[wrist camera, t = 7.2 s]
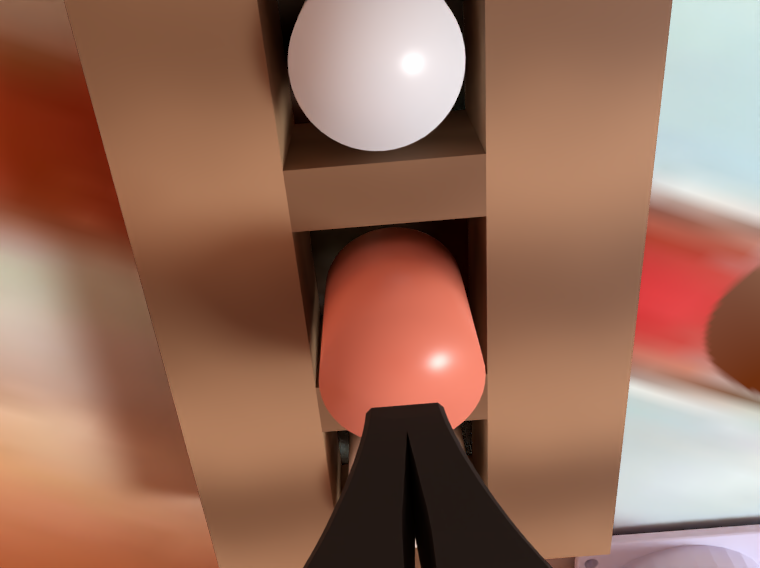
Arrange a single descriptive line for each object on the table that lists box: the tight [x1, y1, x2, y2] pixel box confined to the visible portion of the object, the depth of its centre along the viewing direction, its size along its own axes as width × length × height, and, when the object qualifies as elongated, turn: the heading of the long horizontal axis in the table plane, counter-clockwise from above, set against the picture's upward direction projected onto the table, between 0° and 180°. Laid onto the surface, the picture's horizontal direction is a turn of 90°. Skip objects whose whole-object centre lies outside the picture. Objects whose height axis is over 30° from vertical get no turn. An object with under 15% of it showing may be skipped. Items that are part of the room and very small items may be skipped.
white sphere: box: [288, 0, 465, 151], centre depth 16 cm, size 4×4×4 cm
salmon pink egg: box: [319, 227, 486, 437], centre depth 17 cm, size 4×4×4 cm
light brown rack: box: [64, 0, 672, 568], centre depth 19 cm, size 19×12×4 cm, turn 4°
